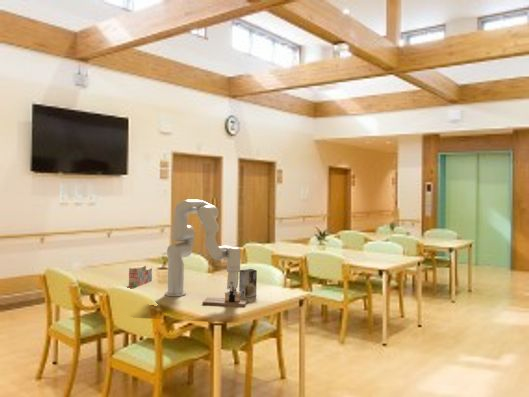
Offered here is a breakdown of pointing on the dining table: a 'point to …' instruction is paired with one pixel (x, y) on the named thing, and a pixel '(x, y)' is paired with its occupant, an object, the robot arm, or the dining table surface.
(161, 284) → the dining table surface
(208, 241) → the robot arm
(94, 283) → the dining table surface
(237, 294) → the block
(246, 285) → the coffee box
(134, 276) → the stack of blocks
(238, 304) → the board
